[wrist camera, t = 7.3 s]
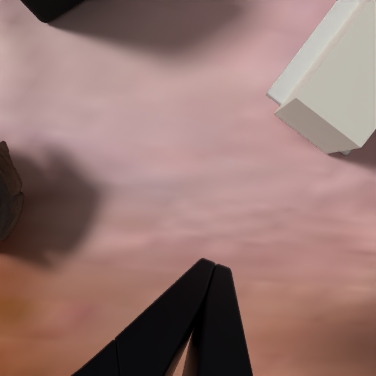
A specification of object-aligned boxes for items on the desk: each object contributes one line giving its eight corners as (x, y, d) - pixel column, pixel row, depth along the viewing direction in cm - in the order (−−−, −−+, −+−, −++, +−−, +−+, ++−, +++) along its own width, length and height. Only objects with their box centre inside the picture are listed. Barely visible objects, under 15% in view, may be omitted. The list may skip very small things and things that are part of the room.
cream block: (360, 147, 17) (504, -37, 17) (296, 97, 17) (438, -89, 17) (325, 153, 22) (438, 8, 21) (273, 113, 22) (385, -33, 21)
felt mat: (344, 155, 22) (347, 154, 22) (265, 94, 22) (267, 93, 22) (425, 51, 22) (430, 48, 22) (345, -11, 22) (348, -15, 21)
